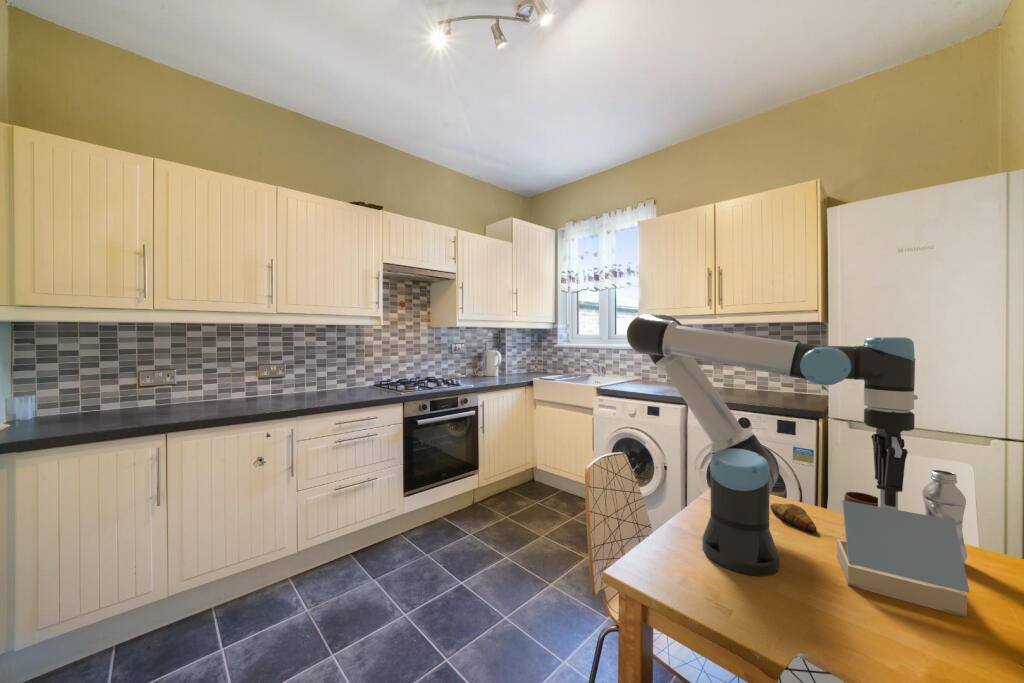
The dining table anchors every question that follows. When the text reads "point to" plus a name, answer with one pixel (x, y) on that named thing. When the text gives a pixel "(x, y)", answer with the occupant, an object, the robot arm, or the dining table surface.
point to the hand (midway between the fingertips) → (887, 518)
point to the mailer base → (901, 586)
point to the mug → (861, 498)
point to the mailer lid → (904, 544)
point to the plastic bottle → (946, 502)
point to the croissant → (794, 516)
